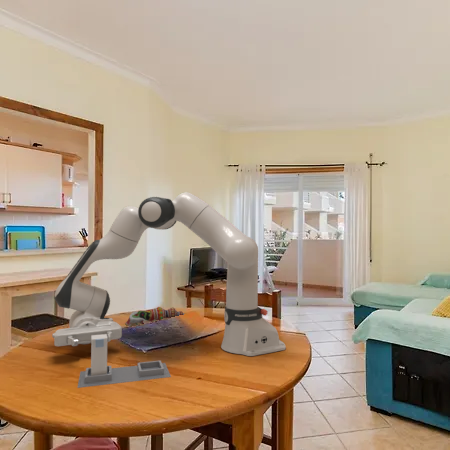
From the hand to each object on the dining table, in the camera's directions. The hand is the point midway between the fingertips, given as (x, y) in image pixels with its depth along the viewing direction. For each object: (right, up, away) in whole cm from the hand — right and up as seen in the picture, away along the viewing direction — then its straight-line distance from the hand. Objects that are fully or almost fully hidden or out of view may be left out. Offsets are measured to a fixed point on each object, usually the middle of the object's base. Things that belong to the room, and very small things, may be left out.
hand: (92, 341), depth 110 cm
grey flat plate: (+12, -7, -8) cm, 17 cm away
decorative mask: (+11, -9, +50) cm, 52 cm away
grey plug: (+6, -6, -11) cm, 14 cm away
